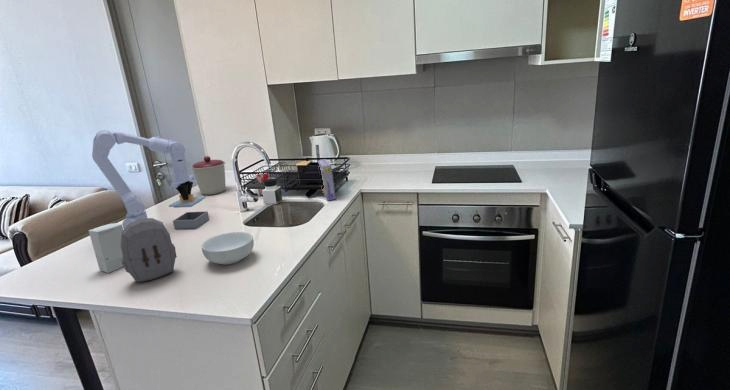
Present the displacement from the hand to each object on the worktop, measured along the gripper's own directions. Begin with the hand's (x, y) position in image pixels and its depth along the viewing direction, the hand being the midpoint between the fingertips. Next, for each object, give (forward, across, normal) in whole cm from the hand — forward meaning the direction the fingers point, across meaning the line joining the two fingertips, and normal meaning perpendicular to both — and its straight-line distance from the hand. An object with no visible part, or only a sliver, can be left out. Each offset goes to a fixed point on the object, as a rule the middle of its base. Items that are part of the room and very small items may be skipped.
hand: (187, 199), depth 170 cm
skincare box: (+11, -44, +2) cm, 45 cm away
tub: (+10, -4, -3) cm, 12 cm away
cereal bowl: (+11, -39, -37) cm, 55 cm away
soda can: (+11, +39, -20) cm, 45 cm away
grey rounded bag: (+11, -51, -18) cm, 55 cm away
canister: (+11, +46, +14) cm, 49 cm away
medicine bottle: (+11, +25, -30) cm, 40 cm away
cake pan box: (+11, +32, -56) cm, 66 cm away
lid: (+2, 0, 0) cm, 2 cm away
